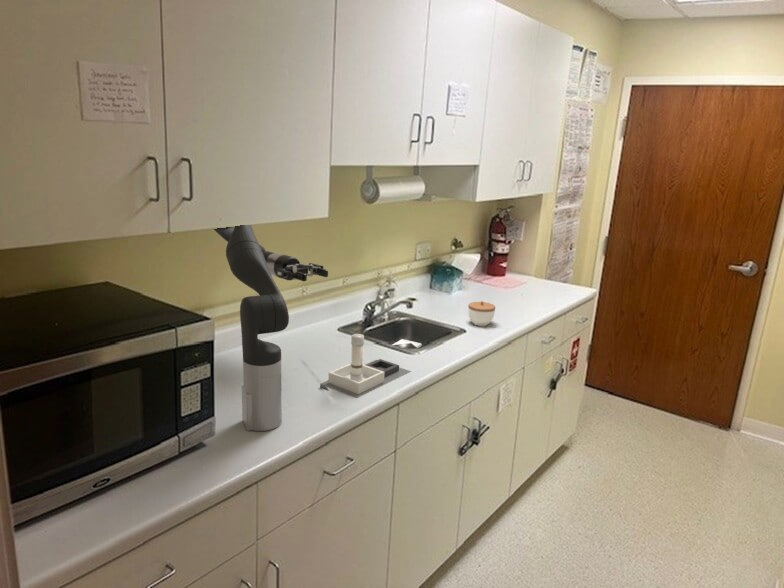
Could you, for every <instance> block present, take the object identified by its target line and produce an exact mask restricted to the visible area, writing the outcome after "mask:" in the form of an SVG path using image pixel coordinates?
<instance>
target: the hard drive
mask: <svg viewBox="0 0 784 588" xmlns="http://www.w3.org/2000/svg"><path fill="white" fill-rule="evenodd" d="M404 344H412V345H413V346H414V347H415V348H417V349H419V348H420V347H422V346H423V345H422V343H421V342H416V341H412V340H407V339H403V338H402V339H399V340H398V341H396V342H394V343H393V344H392V346H397V345H398V346H399V345H404Z"/></svg>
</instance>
